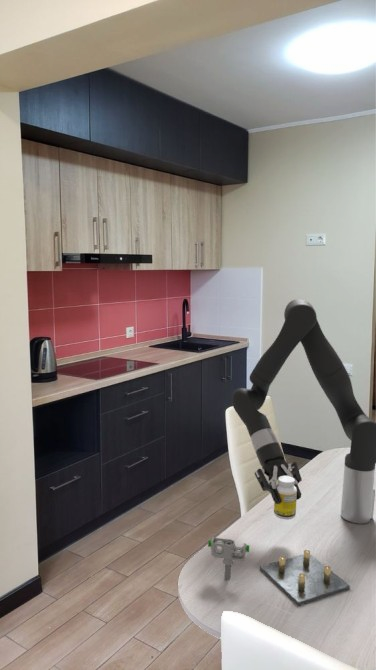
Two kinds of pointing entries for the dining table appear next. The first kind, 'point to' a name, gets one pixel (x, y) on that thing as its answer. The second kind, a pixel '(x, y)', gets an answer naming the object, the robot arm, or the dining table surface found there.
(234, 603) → the dining table surface
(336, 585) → the plate
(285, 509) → the pill bottle
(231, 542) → the mechanical component
